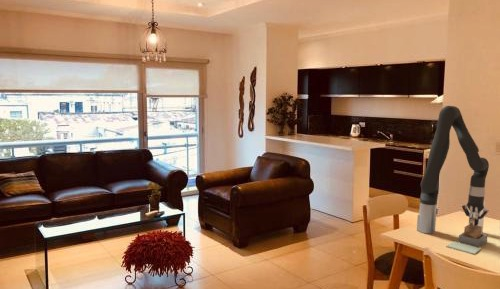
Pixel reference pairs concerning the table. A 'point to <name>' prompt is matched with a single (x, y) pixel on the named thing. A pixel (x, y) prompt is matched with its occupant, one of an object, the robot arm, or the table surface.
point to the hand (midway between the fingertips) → (473, 224)
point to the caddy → (472, 230)
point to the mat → (464, 247)
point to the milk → (479, 219)
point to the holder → (473, 240)
